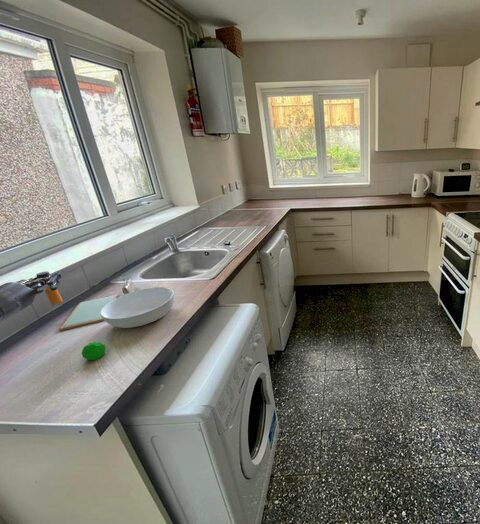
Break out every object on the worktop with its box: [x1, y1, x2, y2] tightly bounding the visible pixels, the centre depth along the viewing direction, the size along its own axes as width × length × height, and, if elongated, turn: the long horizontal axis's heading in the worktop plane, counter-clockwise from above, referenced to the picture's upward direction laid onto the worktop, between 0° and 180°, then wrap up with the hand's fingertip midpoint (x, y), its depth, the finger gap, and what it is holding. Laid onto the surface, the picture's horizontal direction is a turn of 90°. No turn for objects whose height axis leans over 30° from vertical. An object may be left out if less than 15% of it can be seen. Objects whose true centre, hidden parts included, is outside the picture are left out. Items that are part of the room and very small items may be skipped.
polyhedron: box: [81, 341, 106, 361], centre depth 80 cm, size 5×5×5 cm
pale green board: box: [59, 294, 119, 331], centre depth 105 cm, size 12×20×1 cm, turn 27°
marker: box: [35, 270, 64, 306], centre depth 87 cm, size 3×3×10 cm
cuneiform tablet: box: [121, 278, 137, 295], centre depth 116 cm, size 6×4×12 cm
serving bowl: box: [100, 286, 175, 329], centre depth 99 cm, size 21×21×7 cm
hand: (52, 275), depth 88 cm, fingers closed on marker, 2 cm apart
